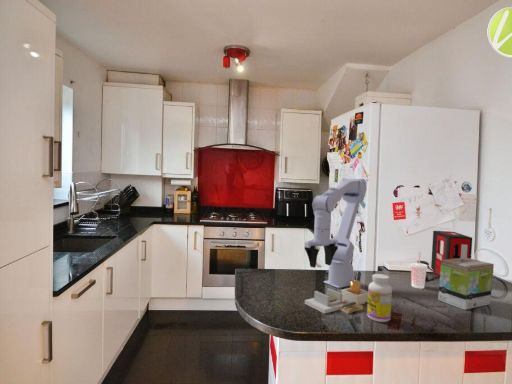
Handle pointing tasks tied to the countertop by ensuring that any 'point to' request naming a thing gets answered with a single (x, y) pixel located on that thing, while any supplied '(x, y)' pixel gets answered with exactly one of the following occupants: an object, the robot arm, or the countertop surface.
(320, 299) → the white compartment tray
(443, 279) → the tea box
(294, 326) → the countertop surface
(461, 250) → the cleaning product box
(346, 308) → the trough
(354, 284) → the cell
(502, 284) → the countertop surface
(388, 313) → the supplement bottle
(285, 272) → the countertop surface
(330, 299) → the pad
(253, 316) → the countertop surface
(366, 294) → the white square open box
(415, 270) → the beverage cup
